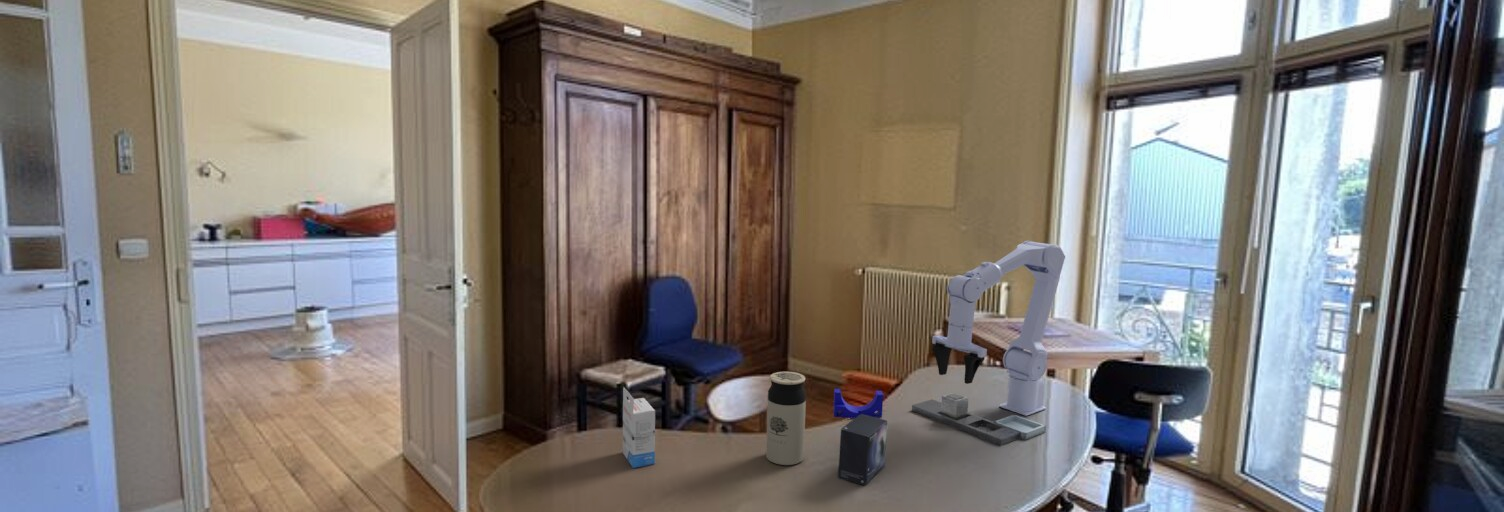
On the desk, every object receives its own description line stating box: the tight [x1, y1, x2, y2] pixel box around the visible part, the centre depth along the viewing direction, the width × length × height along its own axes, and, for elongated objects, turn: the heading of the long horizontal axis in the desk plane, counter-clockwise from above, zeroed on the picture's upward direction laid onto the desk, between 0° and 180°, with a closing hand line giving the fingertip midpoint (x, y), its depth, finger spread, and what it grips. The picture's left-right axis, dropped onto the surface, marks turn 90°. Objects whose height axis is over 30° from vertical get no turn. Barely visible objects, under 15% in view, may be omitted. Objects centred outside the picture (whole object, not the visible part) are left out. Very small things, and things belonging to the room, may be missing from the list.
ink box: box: [622, 387, 656, 469], centre depth 139 cm, size 8×5×15 cm, turn 26°
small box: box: [837, 414, 888, 486], centre depth 135 cm, size 11×6×10 cm, turn 148°
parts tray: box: [993, 414, 1047, 441], centre depth 160 cm, size 8×8×2 cm
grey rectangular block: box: [941, 392, 969, 420], centre depth 166 cm, size 4×4×6 cm
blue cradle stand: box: [833, 388, 884, 419], centre depth 167 cm, size 12×4×6 cm, turn 85°
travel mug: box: [765, 371, 807, 466], centre depth 141 cm, size 8×8×18 cm
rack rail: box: [911, 399, 1022, 446], centre depth 164 cm, size 8×26×1 cm, turn 36°
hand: (955, 378), depth 164 cm, fingers open, 7 cm apart
